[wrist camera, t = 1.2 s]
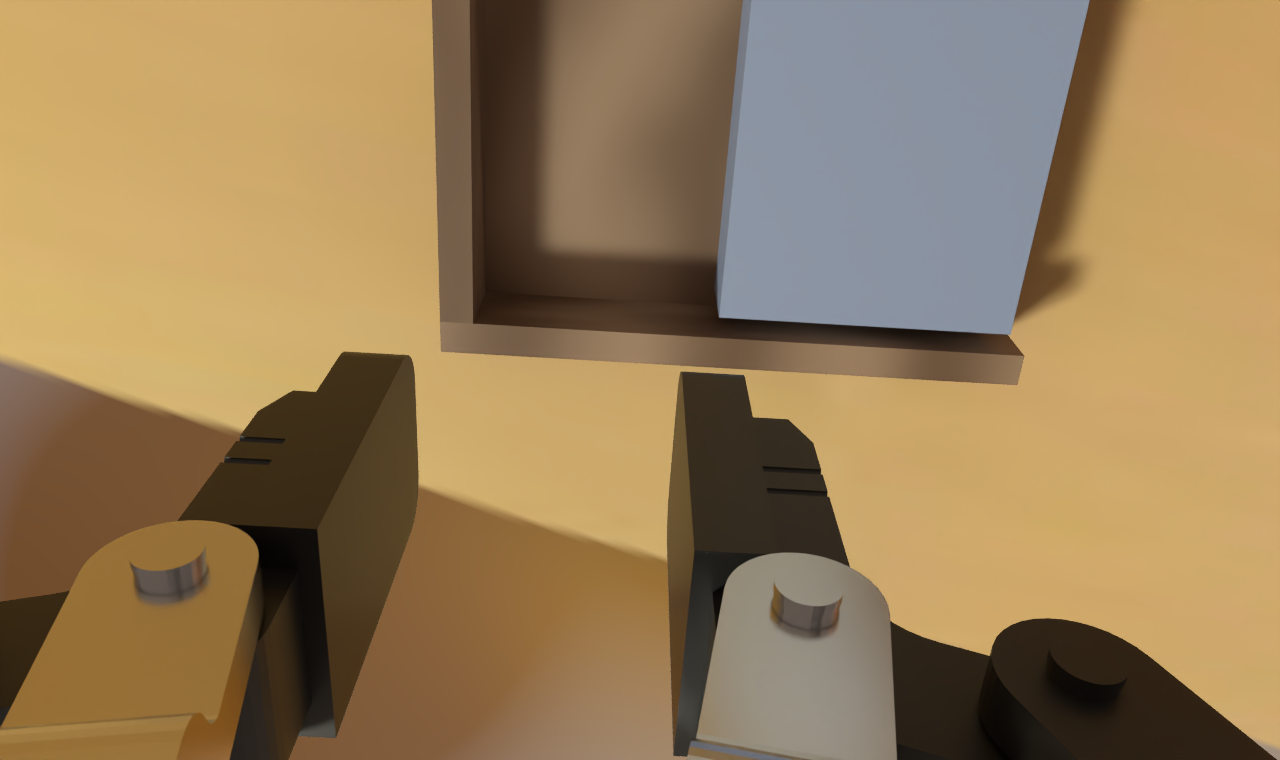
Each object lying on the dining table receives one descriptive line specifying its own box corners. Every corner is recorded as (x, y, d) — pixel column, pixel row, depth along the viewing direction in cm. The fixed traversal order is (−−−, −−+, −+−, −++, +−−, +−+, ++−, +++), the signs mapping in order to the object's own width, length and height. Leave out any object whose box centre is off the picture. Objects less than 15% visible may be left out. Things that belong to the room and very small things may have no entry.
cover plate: (1075, -96, 29) (1112, -94, 26) (986, 304, 34) (1010, 334, 32) (754, -118, 29) (763, -117, 26) (714, 288, 34) (719, 317, 32)
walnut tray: (1096, -158, 29) (1151, -163, 26) (984, 340, 35) (1016, 385, 32) (451, -203, 28) (426, -213, 25) (459, 309, 35) (440, 351, 32)
